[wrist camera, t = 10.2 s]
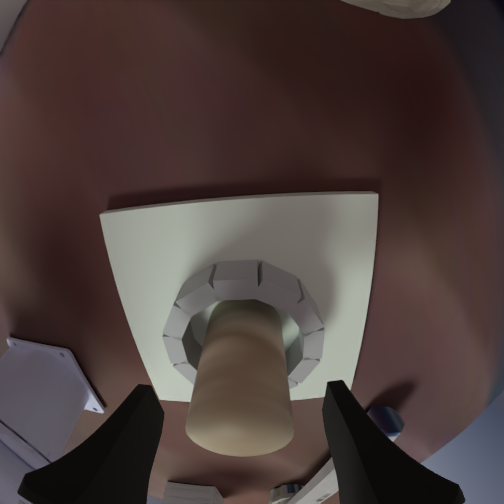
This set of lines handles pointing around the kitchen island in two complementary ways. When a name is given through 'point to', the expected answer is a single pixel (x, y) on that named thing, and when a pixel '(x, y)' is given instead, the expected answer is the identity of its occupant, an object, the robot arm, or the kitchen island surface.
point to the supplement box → (191, 494)
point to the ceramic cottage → (402, 7)
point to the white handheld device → (325, 481)
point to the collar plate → (247, 279)
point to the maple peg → (242, 383)
